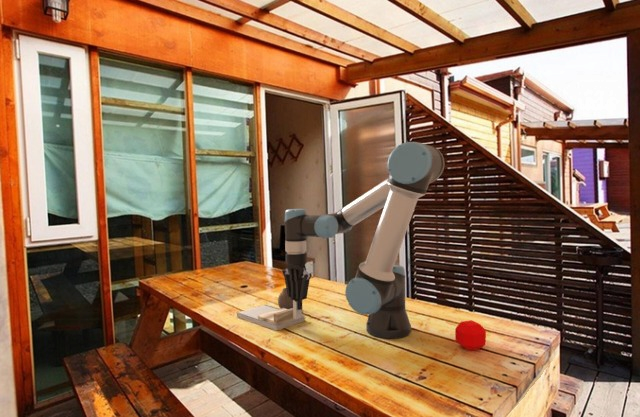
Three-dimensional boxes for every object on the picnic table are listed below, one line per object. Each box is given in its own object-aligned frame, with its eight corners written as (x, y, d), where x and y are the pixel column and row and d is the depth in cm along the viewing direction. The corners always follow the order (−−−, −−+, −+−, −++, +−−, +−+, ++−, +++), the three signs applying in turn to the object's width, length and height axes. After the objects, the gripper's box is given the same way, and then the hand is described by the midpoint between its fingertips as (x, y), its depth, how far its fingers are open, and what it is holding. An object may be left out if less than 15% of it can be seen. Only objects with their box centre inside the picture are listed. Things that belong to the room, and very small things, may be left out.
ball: (490, 350, 117) (490, 325, 117) (467, 354, 115) (467, 328, 115) (473, 341, 125) (473, 317, 125) (451, 344, 123) (451, 320, 123)
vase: (292, 312, 159) (291, 291, 159) (276, 311, 161) (275, 290, 160) (296, 307, 166) (296, 286, 166) (281, 306, 167) (280, 286, 167)
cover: (302, 316, 148) (302, 306, 148) (276, 325, 139) (276, 314, 139) (283, 310, 156) (283, 301, 156) (257, 318, 147) (257, 308, 147)
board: (304, 320, 149) (304, 315, 148) (276, 330, 138) (276, 325, 138) (264, 308, 165) (264, 304, 165) (236, 316, 155) (236, 312, 155)
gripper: (316, 252, 138) (317, 319, 139) (291, 249, 147) (292, 311, 148) (301, 255, 133) (302, 324, 134) (276, 252, 141) (277, 316, 143)
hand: (297, 317), depth 141 cm, fingers closed
